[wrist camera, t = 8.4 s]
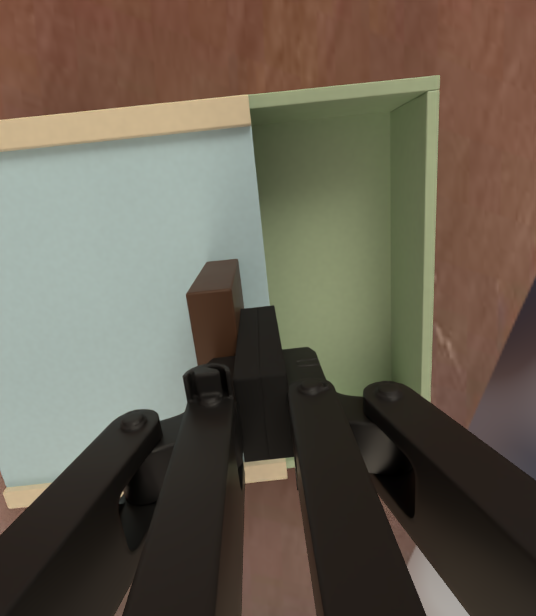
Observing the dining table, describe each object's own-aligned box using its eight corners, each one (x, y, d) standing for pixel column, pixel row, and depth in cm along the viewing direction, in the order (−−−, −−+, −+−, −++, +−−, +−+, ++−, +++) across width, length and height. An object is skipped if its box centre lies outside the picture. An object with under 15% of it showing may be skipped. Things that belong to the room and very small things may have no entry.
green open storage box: (394, 102, 23) (440, 74, 18) (395, 401, 29) (429, 453, 24) (125, 130, 23) (82, 111, 17) (181, 424, 29) (163, 482, 24)
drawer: (248, 99, 17) (245, 48, 11) (286, 467, 23) (298, 570, 17) (-112, 136, 17) (-320, 106, 11) (18, 496, 23) (-70, 610, 17)
